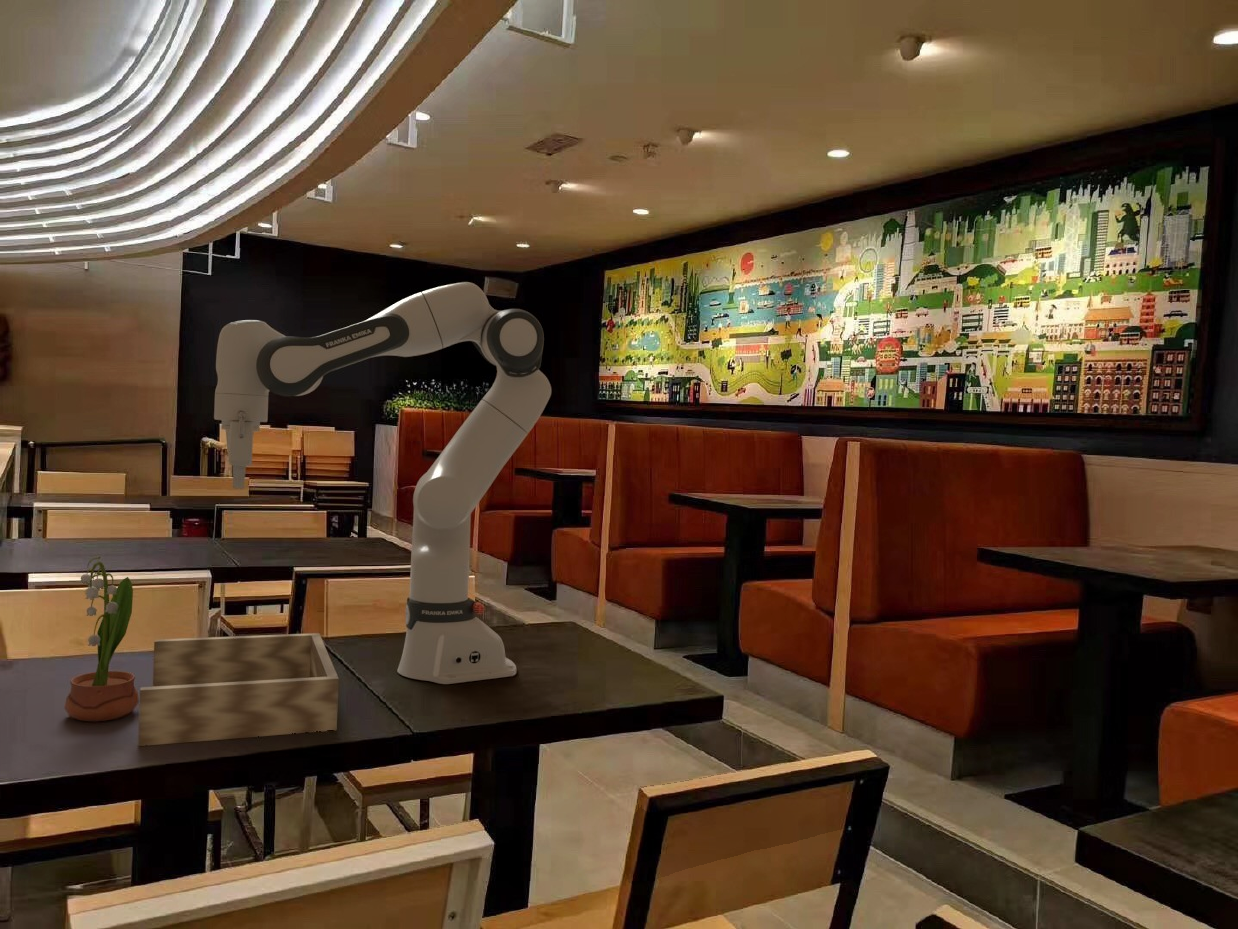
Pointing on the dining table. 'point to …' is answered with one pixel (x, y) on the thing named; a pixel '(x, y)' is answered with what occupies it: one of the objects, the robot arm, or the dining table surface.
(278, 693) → the open wooden planter box
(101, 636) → the potted flower
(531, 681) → the dining table surface
